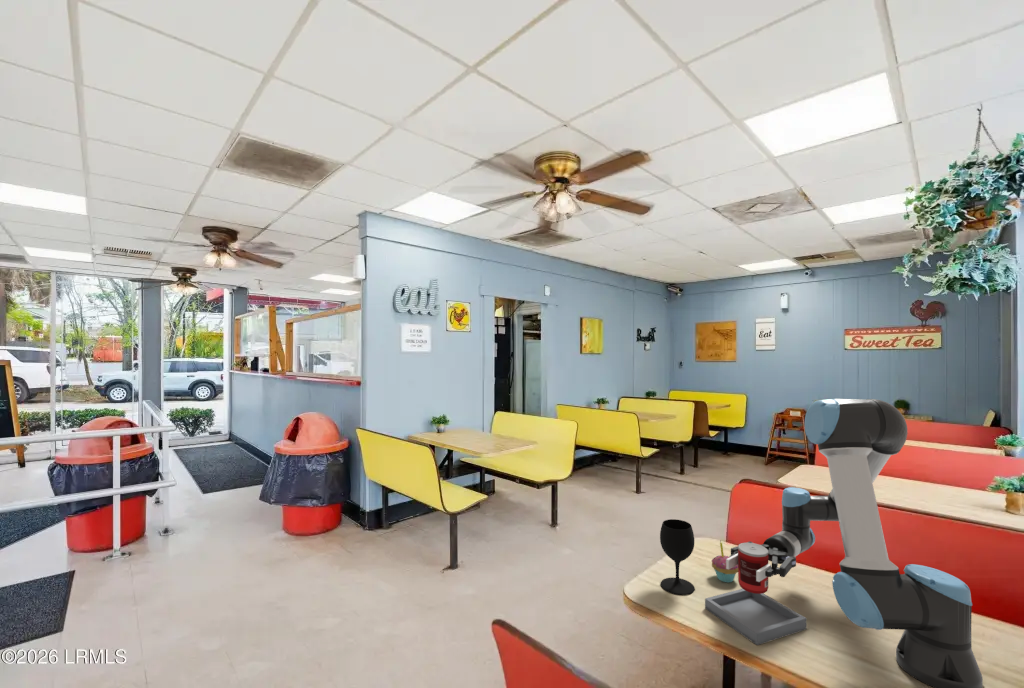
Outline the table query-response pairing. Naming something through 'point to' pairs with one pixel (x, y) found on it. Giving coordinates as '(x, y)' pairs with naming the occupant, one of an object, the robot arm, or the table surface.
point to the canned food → (752, 567)
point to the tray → (755, 615)
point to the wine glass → (677, 553)
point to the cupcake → (723, 567)
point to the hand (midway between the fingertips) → (742, 570)
